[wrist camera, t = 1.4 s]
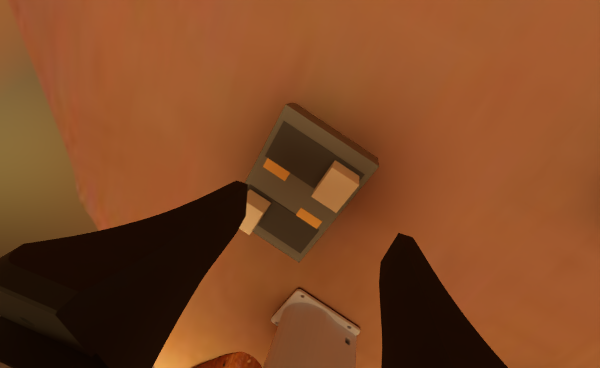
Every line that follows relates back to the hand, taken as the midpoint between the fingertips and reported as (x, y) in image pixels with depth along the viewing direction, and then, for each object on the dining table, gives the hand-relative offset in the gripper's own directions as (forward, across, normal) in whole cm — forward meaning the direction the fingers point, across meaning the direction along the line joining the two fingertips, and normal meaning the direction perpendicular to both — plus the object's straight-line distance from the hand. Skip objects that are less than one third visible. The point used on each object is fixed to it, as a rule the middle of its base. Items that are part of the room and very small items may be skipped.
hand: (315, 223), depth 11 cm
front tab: (+9, -1, +3) cm, 9 cm away
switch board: (+11, +3, +6) cm, 13 cm away
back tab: (+8, +6, +8) cm, 13 cm away
